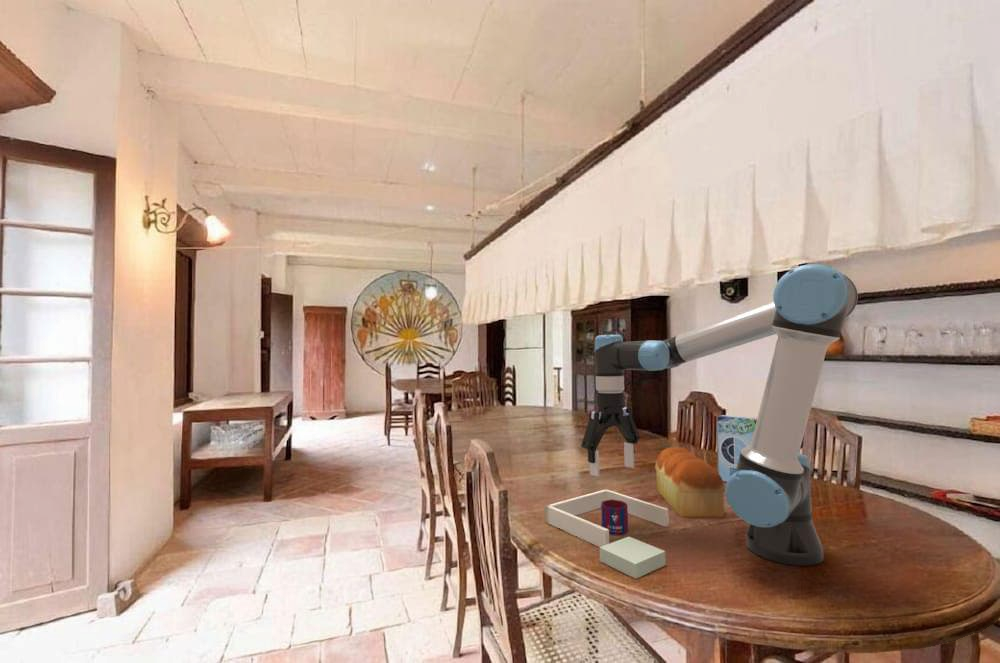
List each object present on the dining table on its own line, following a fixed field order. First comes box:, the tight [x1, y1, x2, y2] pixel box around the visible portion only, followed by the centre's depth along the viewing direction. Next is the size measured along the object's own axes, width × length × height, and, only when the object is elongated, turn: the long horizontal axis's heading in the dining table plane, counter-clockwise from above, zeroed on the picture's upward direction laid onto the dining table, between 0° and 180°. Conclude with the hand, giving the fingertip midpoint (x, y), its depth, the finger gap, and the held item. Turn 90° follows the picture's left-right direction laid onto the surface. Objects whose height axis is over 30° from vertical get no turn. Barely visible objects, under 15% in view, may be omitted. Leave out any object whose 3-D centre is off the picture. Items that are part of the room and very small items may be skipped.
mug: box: [600, 499, 629, 536], centre depth 121 cm, size 7×10×7 cm
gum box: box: [716, 414, 758, 483], centre depth 156 cm, size 20×5×23 cm, turn 39°
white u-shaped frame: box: [544, 489, 670, 548], centre depth 124 cm, size 22×24×4 cm
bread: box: [654, 446, 726, 518], centre depth 140 cm, size 25×12×15 cm, turn 176°
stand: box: [598, 536, 667, 579], centre depth 101 cm, size 10×10×3 cm
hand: (612, 470), depth 122 cm, fingers open, 13 cm apart
